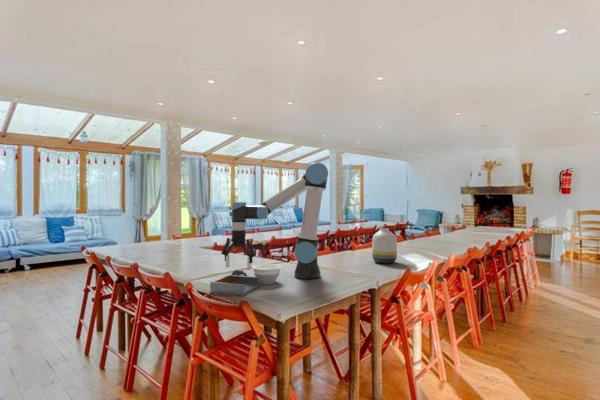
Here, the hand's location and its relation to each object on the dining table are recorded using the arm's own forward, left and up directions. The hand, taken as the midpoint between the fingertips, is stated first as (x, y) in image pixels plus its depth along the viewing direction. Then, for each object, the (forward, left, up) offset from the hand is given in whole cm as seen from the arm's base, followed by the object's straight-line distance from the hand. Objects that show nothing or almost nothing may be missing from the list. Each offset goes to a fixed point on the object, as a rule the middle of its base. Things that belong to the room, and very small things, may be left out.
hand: (238, 268), depth 191 cm
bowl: (-16, -2, -7) cm, 18 cm away
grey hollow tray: (-8, +17, -7) cm, 20 cm away
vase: (-69, -83, -7) cm, 108 cm away
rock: (0, 0, -7) cm, 7 cm away
